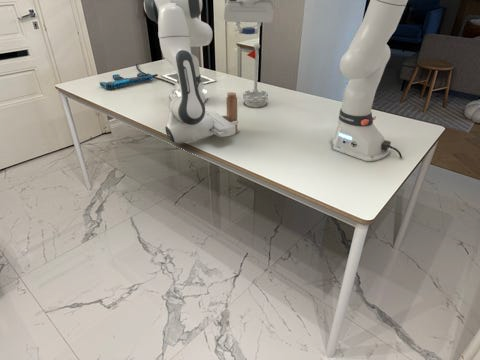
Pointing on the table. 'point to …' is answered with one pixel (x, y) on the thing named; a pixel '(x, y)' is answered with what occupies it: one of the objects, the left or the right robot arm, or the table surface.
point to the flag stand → (255, 85)
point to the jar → (232, 108)
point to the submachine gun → (126, 80)
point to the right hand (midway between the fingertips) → (248, 33)
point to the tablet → (174, 75)
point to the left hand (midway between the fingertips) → (233, 119)
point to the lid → (248, 30)
